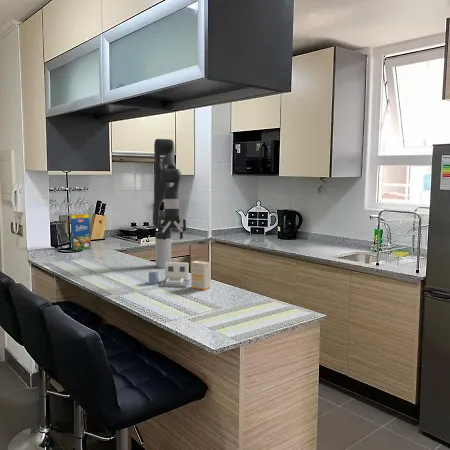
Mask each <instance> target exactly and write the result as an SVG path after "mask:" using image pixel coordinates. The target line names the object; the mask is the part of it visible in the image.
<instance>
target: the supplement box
mask: <svg viewBox="0 0 450 450" xmlns="http://www.w3.org/2000/svg"><path fill="white" fill-rule="evenodd" d="M210 264H211V263H210V262H207V261H201V260H195V261H194V260H193V261H191V264H190V265H191V267H190V268H191V270H190V271H191V275H190V276H191V278H190V279H191V283H190V286H191V288H192V289H197V290H201V291H206V290H209V289H210V287H211V286H210V285H211V282H210V281H211V277H210V275H211V274H210V270H211V269H210V266H211V265H210Z"/></svg>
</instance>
